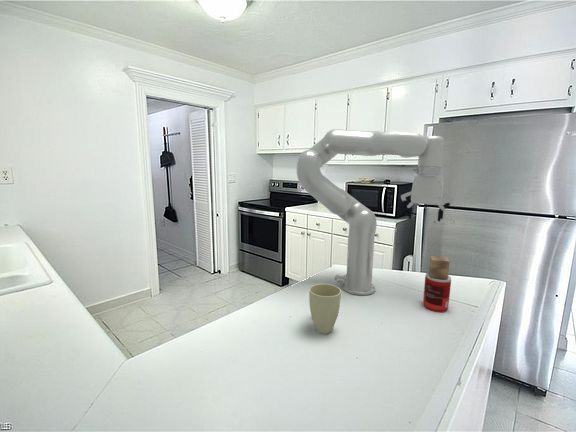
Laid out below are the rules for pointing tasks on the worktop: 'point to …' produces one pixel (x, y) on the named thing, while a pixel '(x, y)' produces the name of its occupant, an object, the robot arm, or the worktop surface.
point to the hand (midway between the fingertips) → (424, 219)
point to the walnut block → (439, 267)
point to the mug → (324, 306)
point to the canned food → (436, 293)
